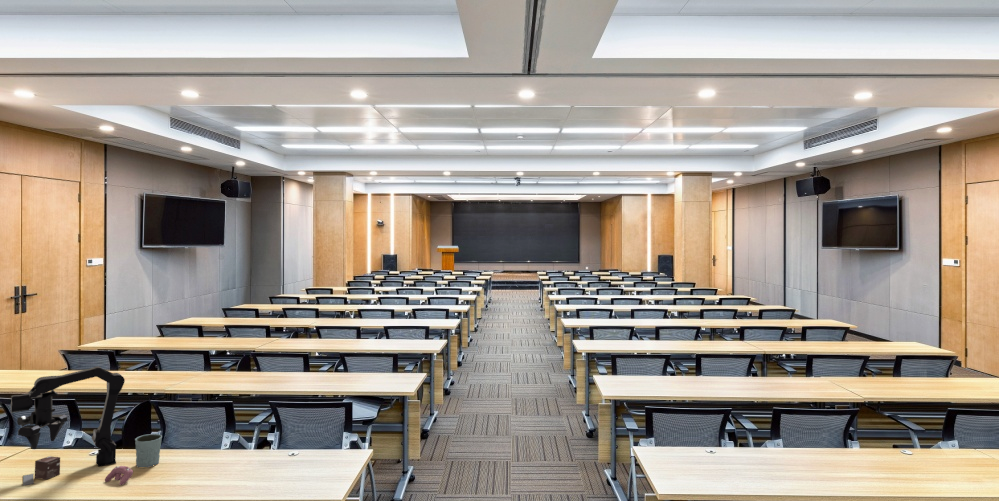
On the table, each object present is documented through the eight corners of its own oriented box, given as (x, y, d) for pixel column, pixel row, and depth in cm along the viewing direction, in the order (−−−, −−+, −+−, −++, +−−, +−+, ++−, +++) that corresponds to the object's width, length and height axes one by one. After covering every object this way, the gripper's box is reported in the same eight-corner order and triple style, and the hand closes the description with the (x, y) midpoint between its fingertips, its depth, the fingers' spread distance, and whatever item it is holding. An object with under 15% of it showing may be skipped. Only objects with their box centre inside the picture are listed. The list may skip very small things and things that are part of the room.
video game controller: (129, 486, 226) (137, 468, 229) (119, 485, 222) (127, 467, 225) (112, 482, 229) (120, 465, 233) (102, 481, 226) (110, 463, 229)
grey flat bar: (33, 474, 232) (33, 473, 232) (33, 483, 223) (33, 483, 223) (23, 476, 230) (23, 475, 230) (23, 485, 221) (23, 485, 221)
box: (45, 480, 226) (46, 462, 227) (33, 478, 228) (34, 460, 228) (60, 474, 232) (60, 457, 233) (48, 473, 234) (49, 455, 234)
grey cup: (155, 458, 253) (156, 432, 253) (165, 463, 247) (166, 437, 247) (130, 465, 245) (131, 437, 245) (140, 470, 239) (140, 442, 239)
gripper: (42, 401, 240) (42, 437, 240) (4, 414, 221) (4, 453, 221) (68, 401, 240) (68, 437, 240) (32, 414, 221) (32, 453, 221)
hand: (43, 445), depth 231 cm, fingers open, 9 cm apart
